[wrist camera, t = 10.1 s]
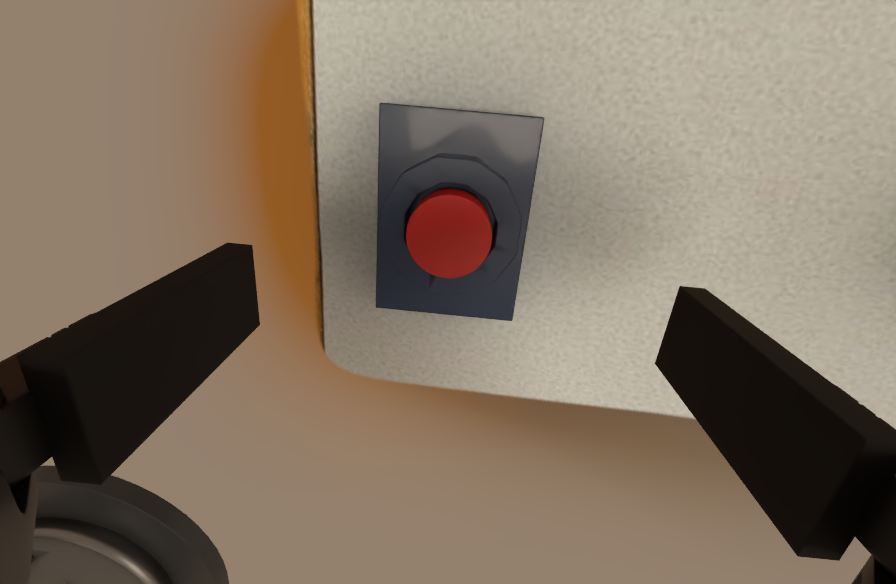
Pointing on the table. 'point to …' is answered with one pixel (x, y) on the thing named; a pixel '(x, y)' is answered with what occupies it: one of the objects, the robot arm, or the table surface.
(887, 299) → the table surface
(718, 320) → the robot arm
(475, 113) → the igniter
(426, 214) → the button
